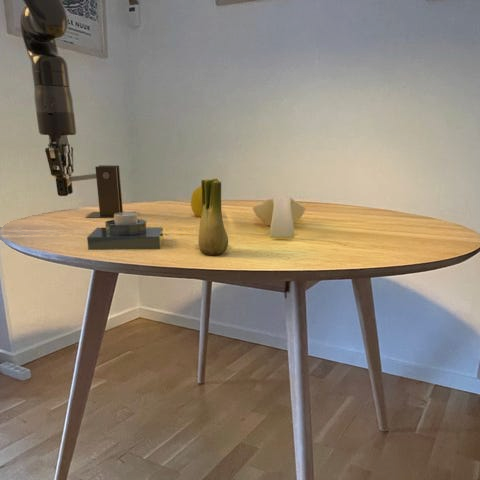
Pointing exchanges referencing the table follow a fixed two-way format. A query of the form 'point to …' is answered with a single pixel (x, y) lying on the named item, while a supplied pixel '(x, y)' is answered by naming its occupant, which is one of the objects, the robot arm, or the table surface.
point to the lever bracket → (108, 191)
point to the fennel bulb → (212, 219)
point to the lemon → (197, 201)
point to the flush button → (125, 218)
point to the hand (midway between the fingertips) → (65, 194)
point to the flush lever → (80, 178)
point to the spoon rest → (280, 216)
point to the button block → (125, 236)
